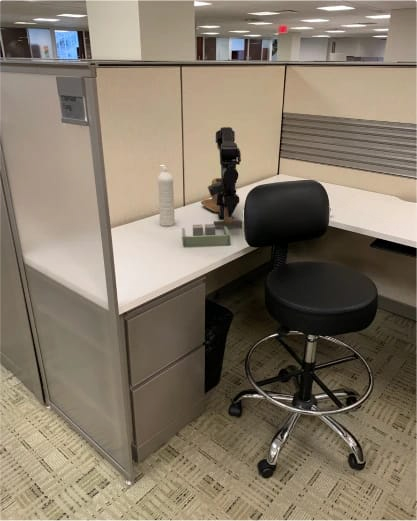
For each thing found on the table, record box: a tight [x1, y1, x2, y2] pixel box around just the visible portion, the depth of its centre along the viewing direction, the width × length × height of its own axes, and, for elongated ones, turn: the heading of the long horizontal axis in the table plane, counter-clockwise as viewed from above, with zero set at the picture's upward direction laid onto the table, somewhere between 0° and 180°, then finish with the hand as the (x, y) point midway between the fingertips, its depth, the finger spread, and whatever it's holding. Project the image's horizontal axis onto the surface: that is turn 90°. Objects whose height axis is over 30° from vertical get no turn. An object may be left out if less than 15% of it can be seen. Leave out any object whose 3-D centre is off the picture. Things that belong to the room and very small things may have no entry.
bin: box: [181, 227, 231, 248], centre depth 162 cm, size 10×18×4 cm, turn 96°
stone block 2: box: [204, 223, 216, 236], centre depth 169 cm, size 4×4×4 cm
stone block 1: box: [192, 224, 204, 236], centre depth 168 cm, size 4×4×4 cm
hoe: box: [213, 207, 243, 231], centre depth 175 cm, size 3×12×9 cm, turn 96°
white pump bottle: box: [157, 164, 176, 227], centre depth 177 cm, size 9×6×25 cm
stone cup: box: [200, 177, 221, 213], centre depth 198 cm, size 15×12×15 cm
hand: (228, 213), depth 174 cm, fingers open, 9 cm apart
